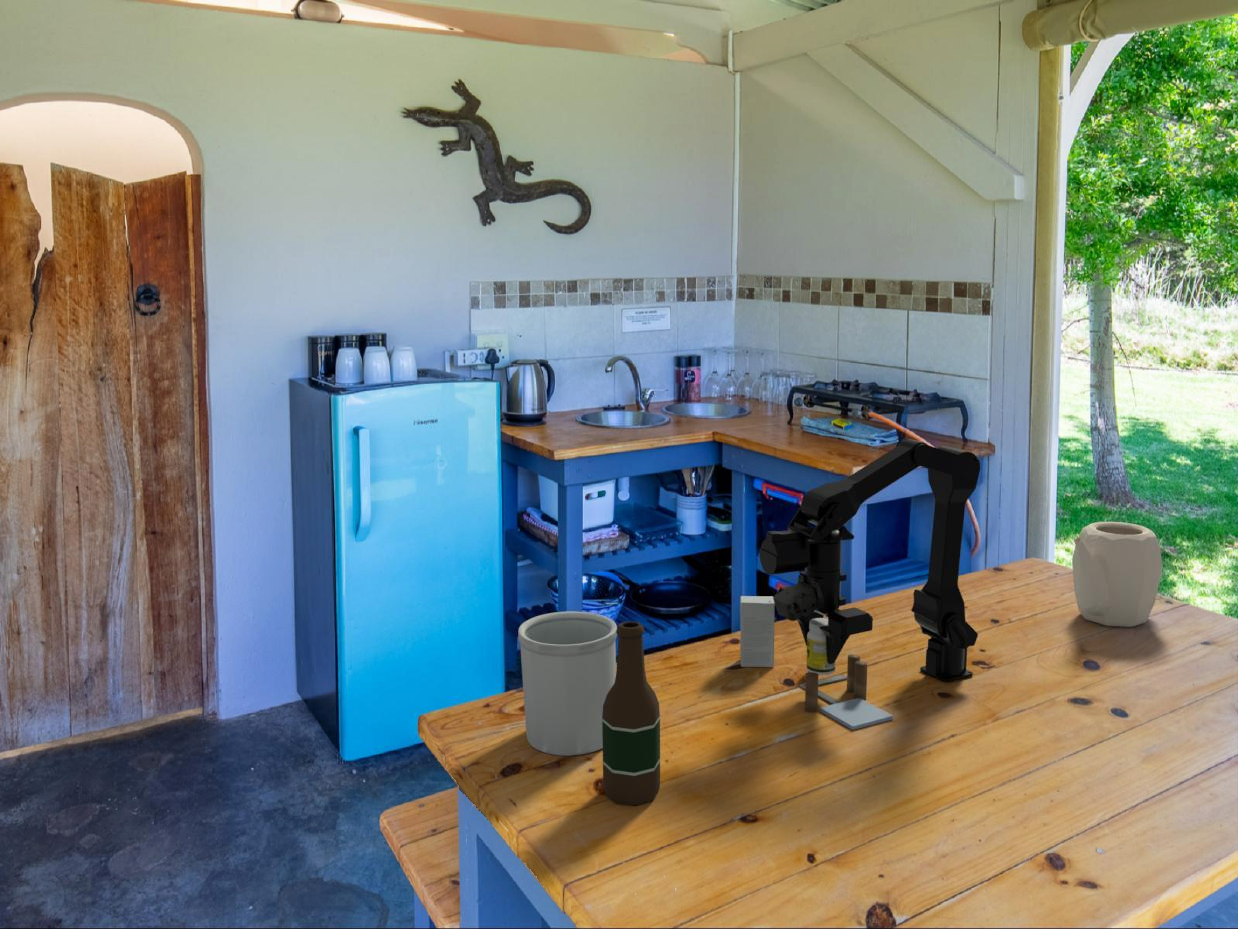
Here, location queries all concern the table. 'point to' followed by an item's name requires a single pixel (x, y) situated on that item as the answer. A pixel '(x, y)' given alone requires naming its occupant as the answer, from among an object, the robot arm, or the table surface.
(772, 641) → the skincare box
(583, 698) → the utensil holder
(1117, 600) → the faceted clay vase
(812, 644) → the supplement bottle
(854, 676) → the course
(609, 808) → the table surface
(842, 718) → the pad
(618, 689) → the beer bottle
